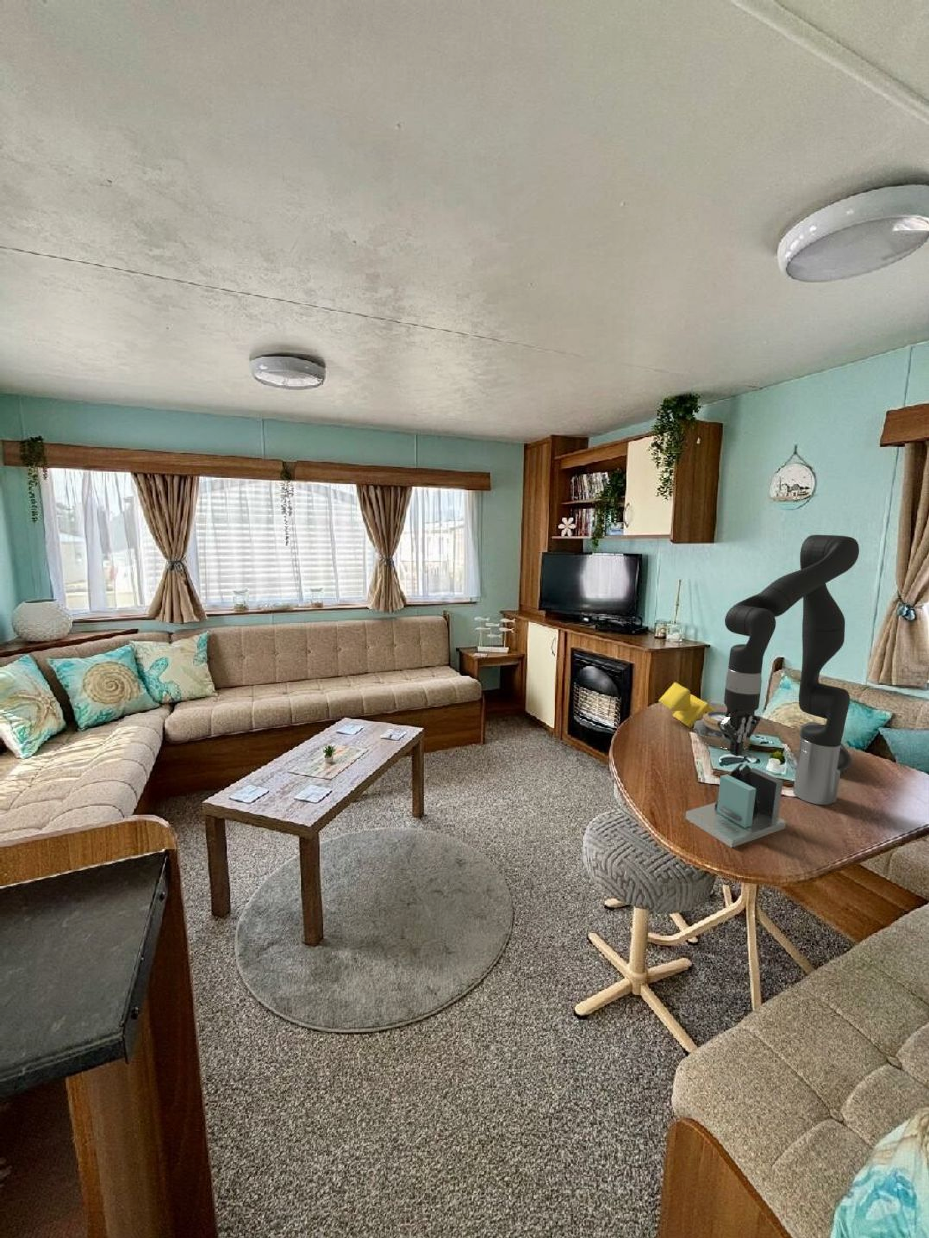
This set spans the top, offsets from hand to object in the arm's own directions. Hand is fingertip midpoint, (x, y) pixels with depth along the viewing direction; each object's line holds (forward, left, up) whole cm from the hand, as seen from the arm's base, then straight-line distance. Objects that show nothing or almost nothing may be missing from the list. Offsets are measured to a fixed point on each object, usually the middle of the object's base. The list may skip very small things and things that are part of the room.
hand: (735, 754), depth 122 cm
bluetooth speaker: (-51, -42, -20) cm, 69 cm away
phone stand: (-5, -5, -18) cm, 20 cm away
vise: (-4, -2, -20) cm, 20 cm away
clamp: (-22, -75, -20) cm, 81 cm away
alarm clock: (-23, -54, -20) cm, 62 cm away
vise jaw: (-1, -1, -18) cm, 18 cm away
